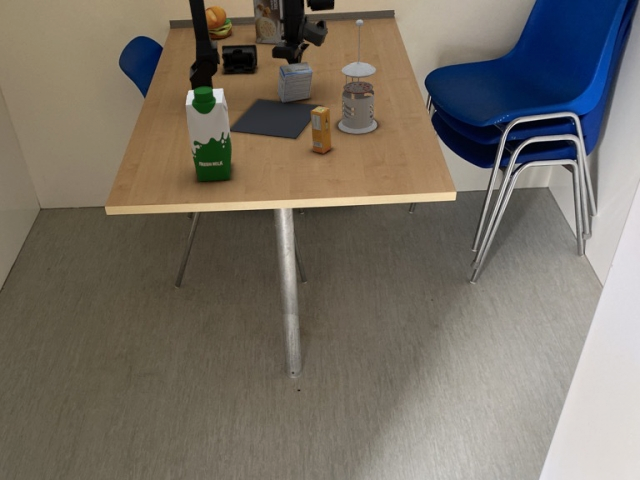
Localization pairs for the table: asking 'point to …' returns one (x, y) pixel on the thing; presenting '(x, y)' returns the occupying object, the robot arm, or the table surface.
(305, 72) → the medicine box
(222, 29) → the cheeseburger
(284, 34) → the robot arm
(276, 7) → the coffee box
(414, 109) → the table surface
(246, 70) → the end cap
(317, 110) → the supplement box
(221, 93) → the milk carton
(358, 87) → the french press
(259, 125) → the mat
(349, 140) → the table surface
